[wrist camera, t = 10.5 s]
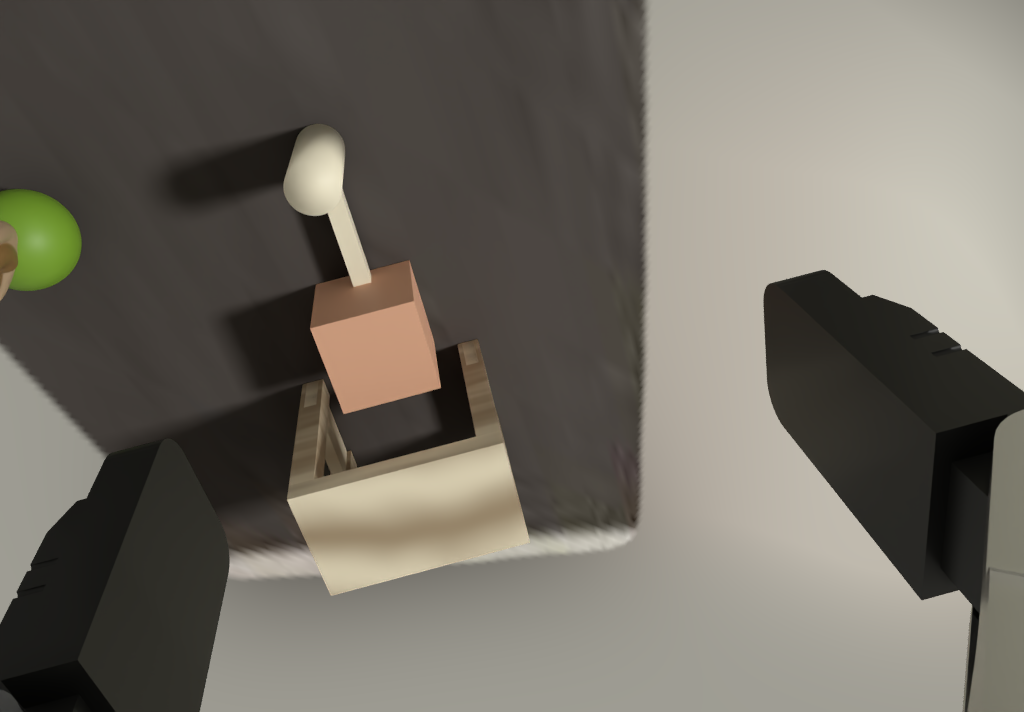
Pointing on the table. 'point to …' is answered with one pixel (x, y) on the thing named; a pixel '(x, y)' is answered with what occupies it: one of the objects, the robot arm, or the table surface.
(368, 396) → the cube base joystick
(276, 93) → the table surface
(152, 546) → the robot arm
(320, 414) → the beige u-shaped block
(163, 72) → the table surface
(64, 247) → the snail figurine
